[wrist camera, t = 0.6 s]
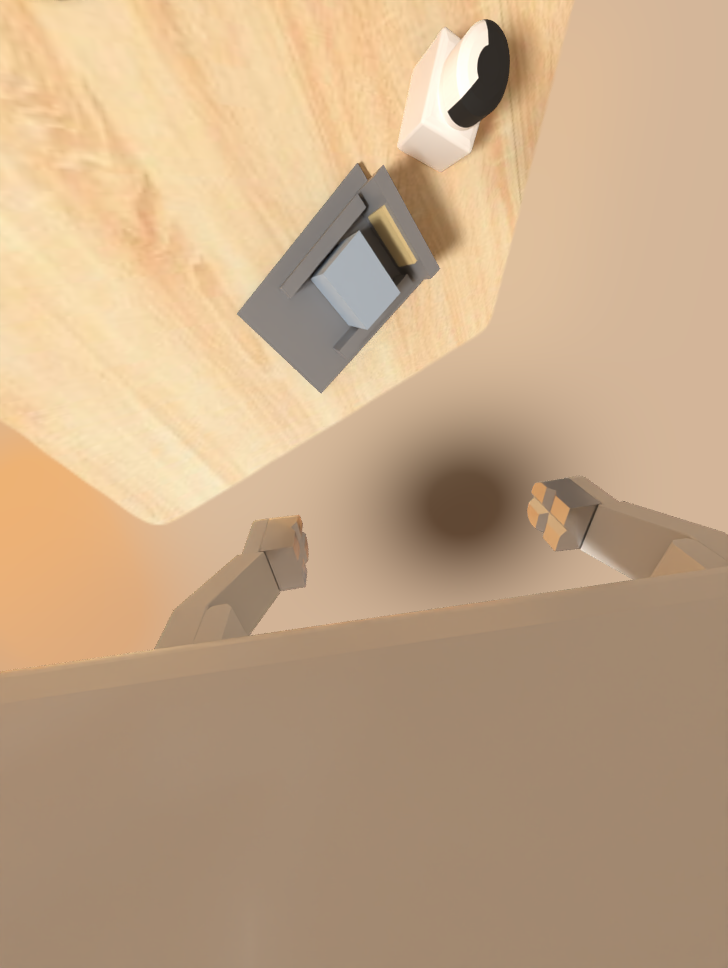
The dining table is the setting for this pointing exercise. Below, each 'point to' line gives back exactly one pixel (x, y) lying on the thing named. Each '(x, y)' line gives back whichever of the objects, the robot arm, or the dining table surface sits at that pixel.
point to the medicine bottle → (454, 93)
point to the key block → (355, 282)
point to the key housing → (288, 288)
